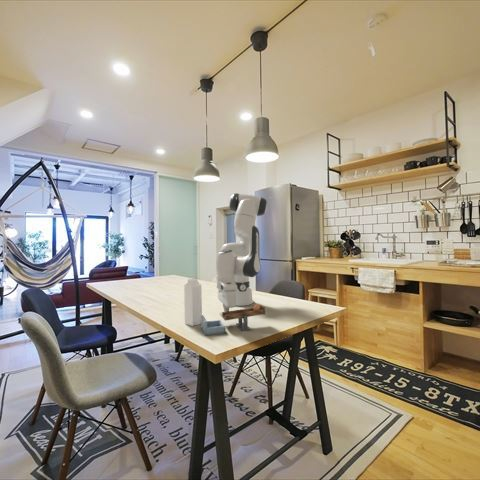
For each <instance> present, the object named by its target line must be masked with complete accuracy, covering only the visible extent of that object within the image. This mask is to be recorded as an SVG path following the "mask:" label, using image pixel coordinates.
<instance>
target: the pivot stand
mask: <svg viewBox="0 0 480 480" xmlns="http://www.w3.org/2000/svg"><path fill="white" fill-rule="evenodd" d="M248 318H249V317H247V315H243V318H238V320H237V321H238V322H236V323H235V325H236V327H237V328H238V329H239V330H240V331H241V332H248V331H251V330H252V329H251V328H250V327H249V324H248V321H249V320H248Z"/></svg>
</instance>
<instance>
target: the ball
mask: <svg viewBox="0 0 480 480" xmlns="http://www.w3.org/2000/svg"><path fill="white" fill-rule="evenodd" d="M252 308H253V310H254V311H255V310H261V307H260V306H259V304H254V306H253V307H252Z"/></svg>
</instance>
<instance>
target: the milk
mask: <svg viewBox="0 0 480 480" xmlns="http://www.w3.org/2000/svg"><path fill="white" fill-rule="evenodd" d="M183 293H184V297H183V298H184V324H185V325H187V326H191V327H193V326H194V327H195V326H197V325H201V316H202V315H203V311H202V310H203V307H202V303H203V302H202V301H203V298H202V284H201V283H200V282H199V280H198V278H197V277H196V278H195V277H194V278H188V279H187V283H185V284H184V286H183Z"/></svg>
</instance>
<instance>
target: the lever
mask: <svg viewBox="0 0 480 480" xmlns="http://www.w3.org/2000/svg"><path fill="white" fill-rule="evenodd" d="M258 305H259V306H260V307H261V310H255V311H254V310H253V307H248V308H242V309H236V310H235V309H234V310H229V311H228V312H224V311H220V312H219V315H220V317H221V318H222V319H223V320H224V321H230V320H231V321H232V320H237V319H238V318H242V319H243V315H247V317H248V318H250V317H255V316H261V315H263V316H264V315H266V307H265V306H263V305H262V304H261V303H259V304H258Z"/></svg>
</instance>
